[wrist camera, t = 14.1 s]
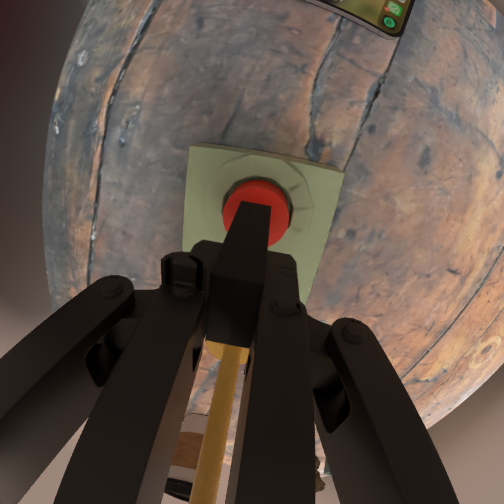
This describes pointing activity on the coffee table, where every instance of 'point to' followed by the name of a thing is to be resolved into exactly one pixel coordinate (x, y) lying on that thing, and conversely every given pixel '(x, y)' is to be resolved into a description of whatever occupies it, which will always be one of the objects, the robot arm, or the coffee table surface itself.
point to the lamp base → (278, 173)
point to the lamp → (217, 423)
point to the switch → (262, 195)
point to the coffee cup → (186, 457)
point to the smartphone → (373, 14)
